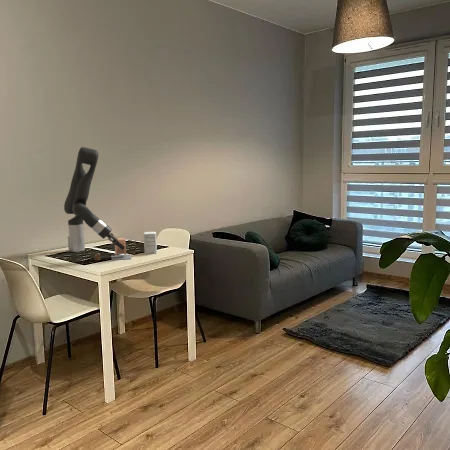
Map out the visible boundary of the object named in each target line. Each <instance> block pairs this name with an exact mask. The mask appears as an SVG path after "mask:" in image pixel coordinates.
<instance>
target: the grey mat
mask: <svg viewBox="0 0 450 450" xmlns="http://www.w3.org/2000/svg"><path fill="white" fill-rule="evenodd" d="M110 257H111V261H112V262H113V261H122V260H123V261H125V260H132V256H131V254H126V255H124V254H117V256H116V255H111V256H110Z"/></svg>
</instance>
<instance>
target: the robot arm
mask: <svg viewBox="0 0 450 450" xmlns="http://www.w3.org/2000/svg"><path fill="white" fill-rule="evenodd" d="M98 159H99V151H98V150H97V149H95V148H94V149H93V148H89V147H85V146H84V147H83V146H82V147H80V149H79V150H78V153H77V157H76V163H75V169H74V172H73V175H72V178H71V183H70V187H69V190H68V193H67V195H66V198H65V201H64V204H63V210H64V212H65V214H67V215H73V214H74V216H73V217H72V218H70V219H68V220H67V226H68V227H67V228H68V236H67V247H68V252H74V253H79V252H83V251H85V250H86V246H85V232H84V231H85V230H84V229H85V227H84V222H85V224H86V225H87V226H88V227H89V228H91V229H92V231H93V232H95V233H96V234H97V236H100V238H101V239H105V238H107V240H109V242H111V243H112V244H114V246H115V245H116V246H118V247H119V248H121V249H122V250H123V249H124V248H125V247H124V246H123V245H122V244H121V243H120V242H119V241H118V238H119V237H117V236H116V235H115V234H114V233H112V231H113V230H112V228H111V227H110V226H109V225H107V223H105V222H104V221H103V220H101V219H100V218H99V217H98V216H97V215H96V214H94V213H93V212H92V211H91V210H90V209H89V208H88V207H87V206H86V205H87V201H88V198H89V195H90V189H91V184H92V180H93V178H94V174H95V171H96V168H97V164H98ZM83 165H88V166H90V167H89V169H88V170H87V172H86V170H85V169H84V167H83ZM116 241H117V243H115V242H116Z"/></svg>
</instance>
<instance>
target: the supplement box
mask: <svg viewBox="0 0 450 450" xmlns="http://www.w3.org/2000/svg"><path fill="white" fill-rule="evenodd" d="M143 245H144V246H143V247H144V249H143V250H144V255H153V254H156V255H157V252H158V250H157V249H158V248H157V232H156V231H144V233H143Z"/></svg>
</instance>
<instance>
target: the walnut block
mask: <svg viewBox="0 0 450 450" xmlns="http://www.w3.org/2000/svg"><path fill="white" fill-rule="evenodd" d="M101 259H102V258H101V254H100V253H99V254H98V253H97V254H94V260H95V261H101Z"/></svg>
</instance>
